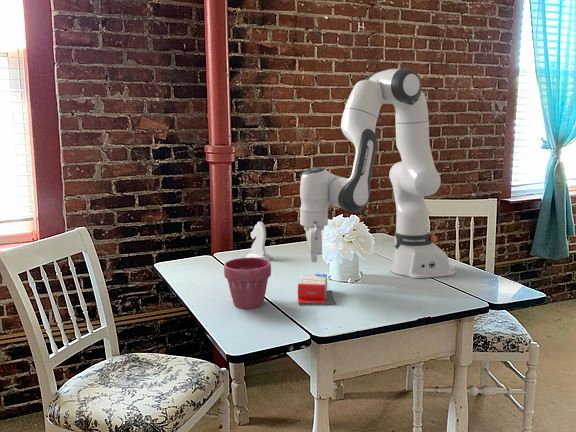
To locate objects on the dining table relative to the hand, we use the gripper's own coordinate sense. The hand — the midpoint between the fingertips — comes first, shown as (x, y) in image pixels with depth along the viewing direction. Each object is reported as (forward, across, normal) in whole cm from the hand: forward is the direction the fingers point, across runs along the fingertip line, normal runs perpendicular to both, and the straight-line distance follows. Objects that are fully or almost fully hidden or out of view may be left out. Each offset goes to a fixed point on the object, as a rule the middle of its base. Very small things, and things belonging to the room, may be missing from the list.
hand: (313, 261), depth 184 cm
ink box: (+7, +1, 0) cm, 7 cm away
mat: (+10, -8, 0) cm, 13 cm away
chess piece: (+10, +38, +19) cm, 44 cm away
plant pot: (+10, -12, +21) cm, 26 cm away
